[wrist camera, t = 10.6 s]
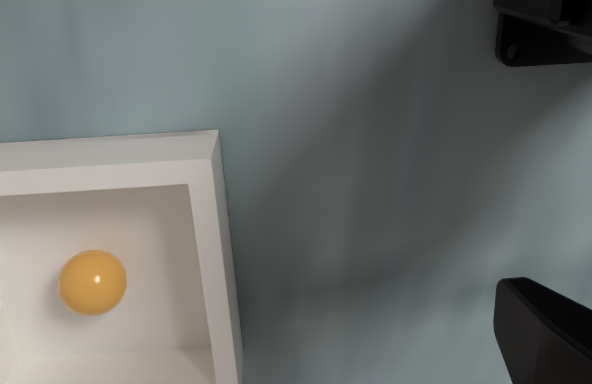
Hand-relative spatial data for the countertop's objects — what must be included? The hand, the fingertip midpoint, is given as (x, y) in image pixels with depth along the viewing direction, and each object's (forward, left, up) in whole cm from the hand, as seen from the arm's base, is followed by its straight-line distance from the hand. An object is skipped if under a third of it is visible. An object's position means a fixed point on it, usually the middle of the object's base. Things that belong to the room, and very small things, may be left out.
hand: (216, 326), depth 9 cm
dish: (+6, +5, -12) cm, 14 cm away
